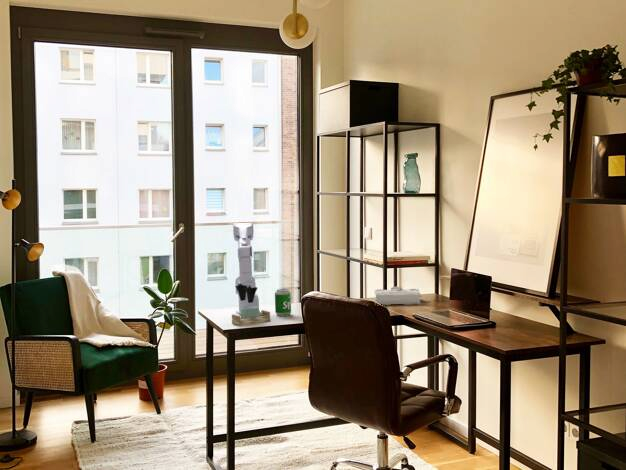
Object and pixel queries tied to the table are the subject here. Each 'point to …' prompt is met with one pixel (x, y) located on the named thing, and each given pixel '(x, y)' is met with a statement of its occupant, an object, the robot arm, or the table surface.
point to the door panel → (249, 312)
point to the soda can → (283, 302)
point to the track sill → (262, 318)
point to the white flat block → (398, 296)
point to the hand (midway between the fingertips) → (246, 301)
